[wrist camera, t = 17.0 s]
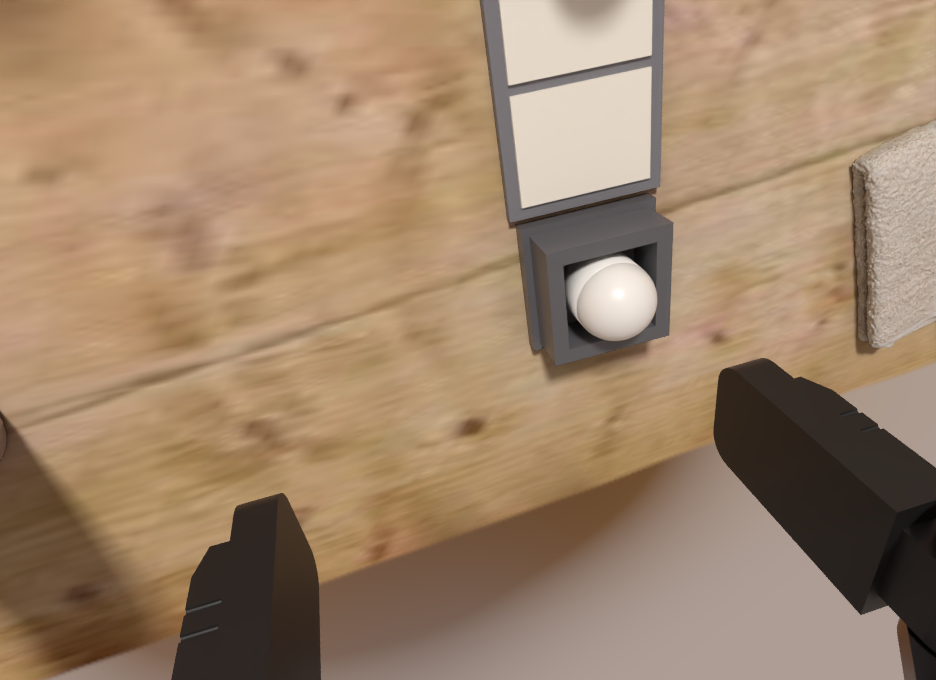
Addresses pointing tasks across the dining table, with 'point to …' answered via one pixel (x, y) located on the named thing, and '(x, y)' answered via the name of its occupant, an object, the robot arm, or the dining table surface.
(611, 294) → the dome
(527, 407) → the dining table surface
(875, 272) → the washcloth
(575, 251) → the button base
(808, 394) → the robot arm
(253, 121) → the dining table surface
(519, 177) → the game board
